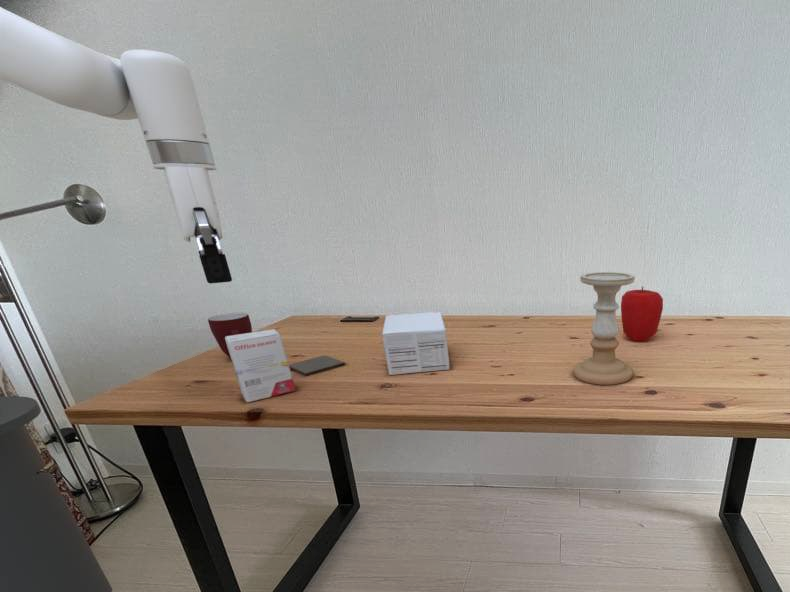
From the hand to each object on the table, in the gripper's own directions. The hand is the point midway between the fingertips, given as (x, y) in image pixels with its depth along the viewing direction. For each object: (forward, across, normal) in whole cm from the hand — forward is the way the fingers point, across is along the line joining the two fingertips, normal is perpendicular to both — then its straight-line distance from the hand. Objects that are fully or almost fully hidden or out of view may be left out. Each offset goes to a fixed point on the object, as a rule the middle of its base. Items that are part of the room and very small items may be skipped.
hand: (218, 278), depth 73 cm
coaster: (+23, -18, +14) cm, 32 cm away
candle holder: (+23, +26, +61) cm, 70 cm away
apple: (+23, +11, +87) cm, 91 cm away
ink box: (+23, -6, +3) cm, 24 cm away
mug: (+23, -35, 0) cm, 42 cm away
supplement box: (+23, -7, +34) cm, 41 cm away
